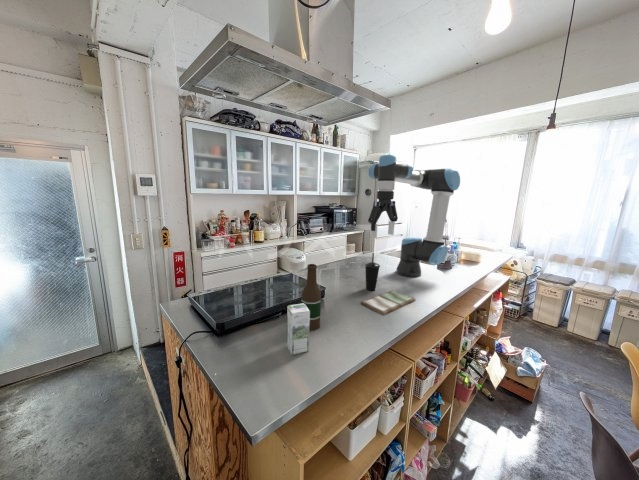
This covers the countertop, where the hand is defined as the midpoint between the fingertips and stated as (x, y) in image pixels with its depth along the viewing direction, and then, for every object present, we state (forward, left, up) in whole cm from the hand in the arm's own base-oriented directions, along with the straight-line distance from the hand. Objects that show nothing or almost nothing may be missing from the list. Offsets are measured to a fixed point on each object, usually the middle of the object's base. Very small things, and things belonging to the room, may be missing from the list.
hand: (382, 236), depth 120 cm
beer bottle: (+44, +3, -30) cm, 54 cm away
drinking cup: (-3, -7, -30) cm, 31 cm away
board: (+2, +8, -30) cm, 31 cm away
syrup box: (+56, +12, -30) cm, 65 cm away
